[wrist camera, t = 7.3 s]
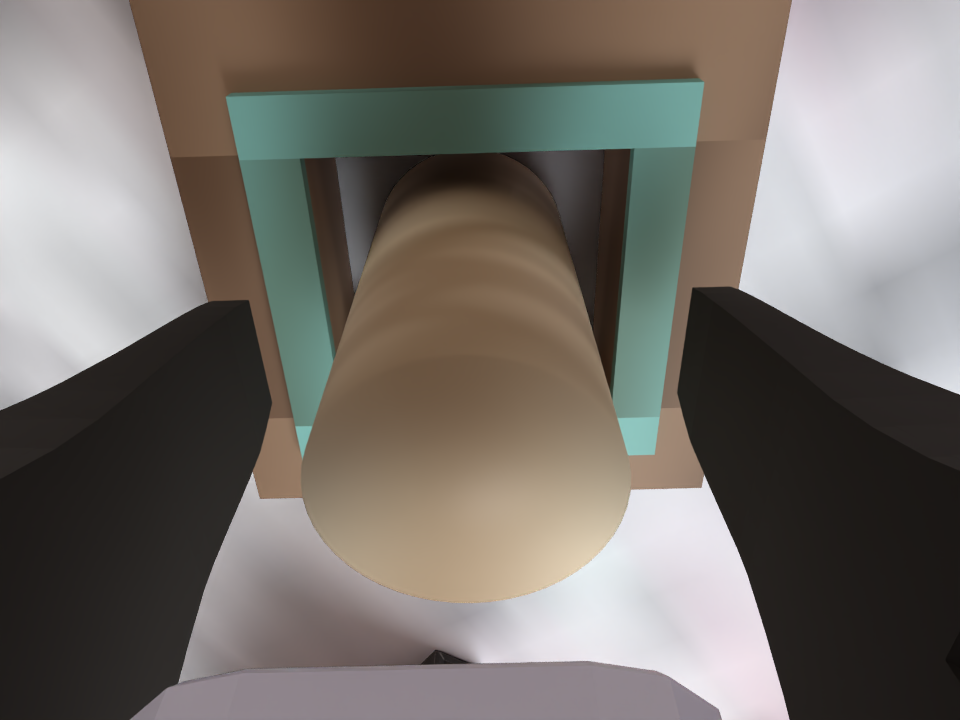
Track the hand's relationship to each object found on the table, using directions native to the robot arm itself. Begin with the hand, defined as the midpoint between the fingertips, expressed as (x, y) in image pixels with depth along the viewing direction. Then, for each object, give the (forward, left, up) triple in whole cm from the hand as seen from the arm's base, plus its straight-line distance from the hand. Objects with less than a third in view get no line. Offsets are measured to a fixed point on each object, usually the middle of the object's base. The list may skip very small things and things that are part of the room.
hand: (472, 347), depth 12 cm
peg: (0, 0, -4) cm, 4 cm away
